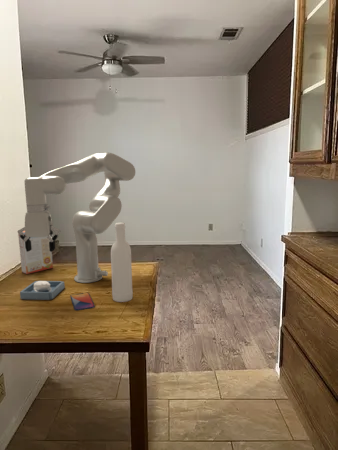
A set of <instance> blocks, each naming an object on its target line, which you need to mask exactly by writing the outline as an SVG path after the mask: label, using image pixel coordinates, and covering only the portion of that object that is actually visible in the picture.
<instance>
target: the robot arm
mask: <svg viewBox="0 0 338 450" xmlns="http://www.w3.org/2000/svg"><path fill="white" fill-rule="evenodd" d="M102 172H103V174H104V185H103V186H102V188H101V189H99V191H98V192H97V193H96V194H95V195H94V196H93V198H91V200H90V201H89V203H88V204H89V205H88V206H89V207H88V208H89V210H79V211H77V212H75V213H74V214H73V217H72V229H73V232H74V233H73V234H74V239H75V253H76V268H77V269H76V270H77V274H76V275H75V276H74V281H75V282H77V283H83V284H87V283H90V284H91V283H95V282H98V281H100V280H102V279H103V277H108V275H109V273H108V271H107V270H101V267H99V250H98V238H97V235H101V234H102V233H105V232H106V231H107V230H108V229H109V227H110V226H111V225H112V224H113V223H114V222H115V220H116V219H117V218H118V216H119V215H120V213H121V211H122V207H123V206H122V205H123V204H122V202H121V201H122V200H121V198H119V197H120V194H121V186H120V185H121V184H120V181H121V182H122V181H123V182H126V181H131V180H133V179H134V177H135V176H136V168H135V166H134V164H133V163H132V162H130V161H129V160H126V159H125V158H122V157H121V156H119V155H117V154H115V153H112V152H108V151H107V152H95V153H92V154H90V155H88V156H86V157H84V158H82V159H80V160H78V161H77V160H76V161H75V162H73V163H70V164H67V165H65V166H62V167H59V168H55V169H53V170H50V171H48V172H46V173H44V174H42V175H40V176H32V177H26V178H25V179H24V182H23V183H24V192H25V203H26V212H25V215H24V227H22V228H20V229H19V230H17V235H18V234H19V235H20V237H21V238H22V239H23V241H24V242H25V248H26V251H27V252H28V251H30V250H32V247H31V240H30V238H31V237H47V238H48V239H49V240H50V242H49V249H50V252H52V253H53V251H55V249H56V240H57V239H58V238H59V236H60V233H61V230H60V229H58V228H57V227H55V226H54V225H53V220H52V215H51V212H50V211H48V210H50V209H51V206H50V205H48V204H47V203H48V202H47V195H54V196H57V195H61V194H63V193H64V192H65V191H66V189H67V185H68V184H75V183H80V182H84V181H86V180H88V179H90V178H91V177H93V176H95V175H98V174H100V173H102ZM23 231H25V235H26V236H25V235H24V234H23ZM54 233H55V234H54ZM96 234H97V235H96Z"/></svg>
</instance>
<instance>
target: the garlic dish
mask: <svg viewBox="0 0 338 450" xmlns="http://www.w3.org/2000/svg"><path fill="white" fill-rule="evenodd" d="M37 281H38V280H35V281H33V282H32V283H30V284H29V285H27V286H26V287H25V288H23V289H22V290H21V291H20V292H19V297H20V300H35V301H36V300H44V301H45V300H46V301H50V300H53V299H55V297H57V295H59V294H60V293H61V292H62V291H63V290H64V289H65V287H66V286H65V281H63V280H62V281H61V280H46V281H47V282H49V283H50V287H51V291H49V290H46V291H39V292H36V291H34V283H36V282H37ZM37 291H38V290H37Z"/></svg>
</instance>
